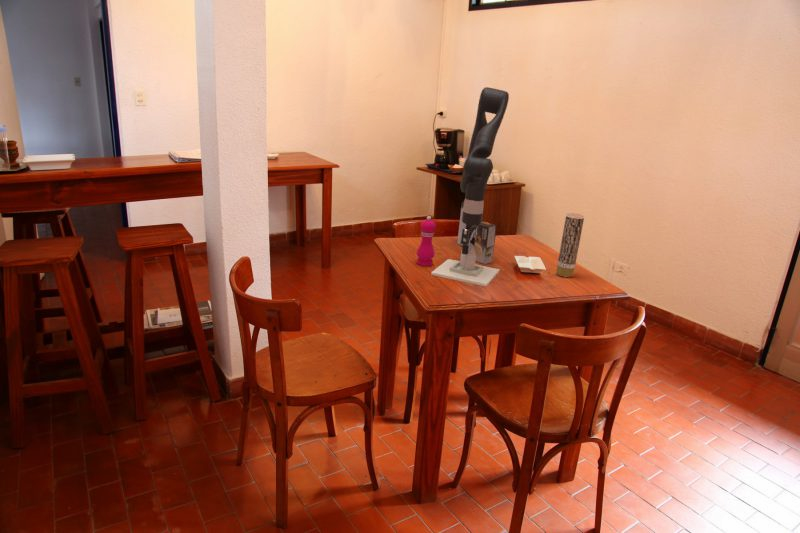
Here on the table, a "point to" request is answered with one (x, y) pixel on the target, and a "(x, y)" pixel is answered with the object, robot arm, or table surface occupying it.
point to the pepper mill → (426, 243)
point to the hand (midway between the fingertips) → (468, 251)
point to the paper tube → (570, 244)
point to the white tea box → (468, 258)
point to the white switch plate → (466, 273)
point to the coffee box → (485, 242)
